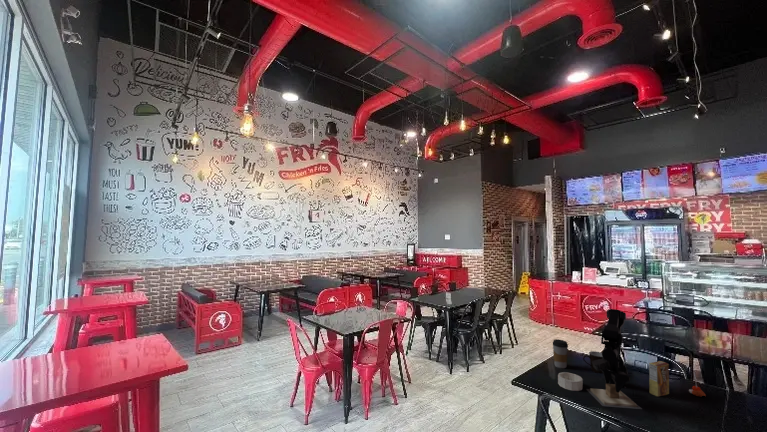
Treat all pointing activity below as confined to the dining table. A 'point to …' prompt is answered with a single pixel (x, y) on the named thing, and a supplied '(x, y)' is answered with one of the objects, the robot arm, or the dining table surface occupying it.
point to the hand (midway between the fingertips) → (612, 387)
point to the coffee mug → (594, 356)
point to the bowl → (570, 381)
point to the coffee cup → (560, 353)
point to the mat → (612, 405)
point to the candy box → (659, 378)
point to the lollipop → (696, 389)
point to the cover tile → (611, 400)
